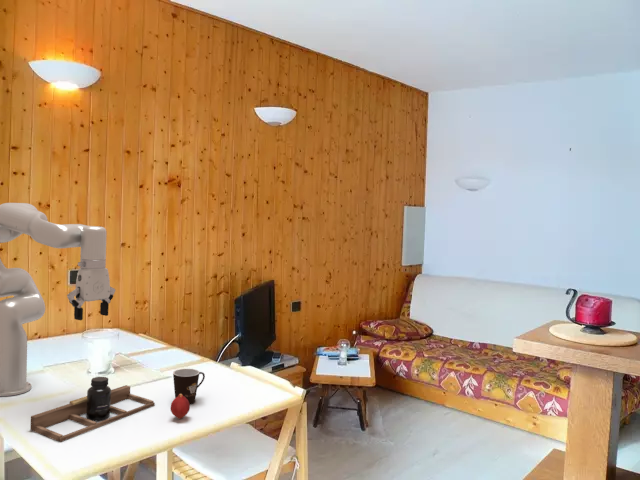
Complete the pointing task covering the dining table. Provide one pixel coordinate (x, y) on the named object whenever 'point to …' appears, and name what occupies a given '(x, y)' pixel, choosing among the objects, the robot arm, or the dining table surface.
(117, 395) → the divided wooden rack
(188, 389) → the coffee mug
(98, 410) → the supplement bottle
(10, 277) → the robot arm
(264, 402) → the dining table surface
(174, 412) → the onion
